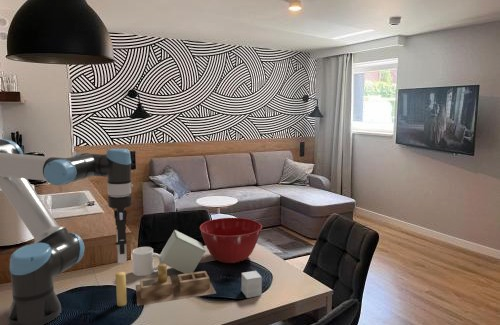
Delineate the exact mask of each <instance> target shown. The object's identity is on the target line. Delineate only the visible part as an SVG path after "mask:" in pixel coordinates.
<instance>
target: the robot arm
mask: <svg viewBox="0 0 500 325" xmlns="http://www.w3.org/2000/svg"><path fill="white" fill-rule="evenodd" d="M131 157H132V156H131V151H130V150H129V149H127V148H109V149H107V150H106V153H102V154H101V153H100V154H99V153H90V152H84V153H83V152H82V153H76V154H75V156H72V157H71V156H70V157H55V156H45V155H33V154H24V152H23V150H22V148H21V147H20V146H19V145H18V144H17V143H16V141H15V142H14V141H13V140H11V139H5V138H3V139H2V138H0V189H1V191H2V193H3V195H5V197H6V199H7V200H8V201H9V203H10V205H11V206H12V207H13V209H14V210H15V212H16V213H17V215H18V217H19V218H20V219H21V221H22V222H23V224H24V225H25V227H26V228H27V230H28V231H29V233H30V234H31V236H32V237H33V239H34V242H33V243H31V244H26V245H24V246H21V247H20V248H18V249H16V250H15V251H13V252H12V253H11V255H10V258H9V267H8V268H9V270H8V271H9V272H10V282H11V291H12V293H11V294H12V302H11V306H10V308H9V312H8V315H7V323H8V325H44V324H46V323H48V324H50V323H51V322H50V321H52V320H54V319H55V318H56V319H57V317H58V316H59V317H60V315H61V314H60V313H62V304H61V302H60V300H59V298H58V295H57V294H56V292H55V287H54V278H55V277H56V276H59V275H60V274H61V273H64V272H65V271H67V270H69V269H70V268H73V267H74V266H75V265H77V264H78V263H79V262H80V261H81V260H82V259H83V256H84V255H85V244H84V241H83V239H82V238H81V236H80V235H79V234H77V233H75V232H70V231H69V230H68V229H67V227H66V226H62V225H59V224H58V223H57V221H56V220H55V218H54V217H53V215H52V213H50V211H49V209H48V208H47V206H46V204H45V203H44V202H43V200H42V199H41V197H40V196H39V195H38V193H37V192H36V190H35V188H34V187H33V185H32V184H31V182H30V181H29V180H35V181H46V182H47V183H49V184H50V185H53V186H63V185H68V184H70V183H73V182H76V181H80V180H83V179H88V178H90V177H104V178H106V177H107V180H106V181H107V195H108V196H107V204H108V207H109V208H111V209H115V210H114V211H113V215H114V216H113V218H114V219H115V221H114V222H115V226H116V228H115V229H116V242H115V246H116V249H117V264H125V263H127V261H128V260H127V258H128V257H127V255H128V254H127V232H126V229H127V227H126V225H127V215H128V212H127V209H125V208H129V207H131V206H132V204H133V201H132V200H133V198H132V188H133V187H134V184H133V183H132V158H131ZM59 317H58V318H59ZM56 319H55V320H56ZM55 320H54V321H55ZM49 322H50V323H49ZM52 322H53V321H52ZM46 325H47V324H46Z"/></svg>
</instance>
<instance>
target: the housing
mask: <svg viewBox="0 0 500 325" xmlns="http://www.w3.org/2000/svg"><path fill="white" fill-rule="evenodd" d="M205 253H206V248H205V247H204V245H203V242H200V241H198V240H197V239H194V238H192V237H190V236H188V235H186V234H184V233H182V232H180V231H178V230H177V229H174V230H173V232H172V233H171V235H170V237H169V238H168V240H167V242H166V244H165V245H164V246H163V248H162V251H161V252H160V253H159V255H160V256H161V262H162V264H166V265H167V266H168V267H169V268H172V269H173V270H176V271H179V272H180V273H182V274H186V273H194V272H195V270H196V269H197V266H198V265H199V263H200V262H201V260H202V258H203V256H204V255H205Z"/></svg>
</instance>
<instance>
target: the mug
mask: <svg viewBox="0 0 500 325" xmlns="http://www.w3.org/2000/svg"><path fill="white" fill-rule="evenodd" d="M154 258H157V259H158V262H159V263H158V265H159V264H163V263H162V262H161V256H160V253H156V252H154V248H152V247H151V246H141V247H137V248H134V249H133V250H132V273H133V275H134V276H137V277H144V276H145V277H146V276H149V275H152V274H153V273H154V271H158V265H156V266H154V264H155V263H154Z"/></svg>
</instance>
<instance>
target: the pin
mask: <svg viewBox="0 0 500 325" xmlns="http://www.w3.org/2000/svg"><path fill="white" fill-rule="evenodd" d="M115 287H116V288H115V289H116V290H115V292H116V306H118V307H125V306H126V305H127V303H128V301H127V298H128V297H127V277H126V271H118V272H117V273H115Z"/></svg>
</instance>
